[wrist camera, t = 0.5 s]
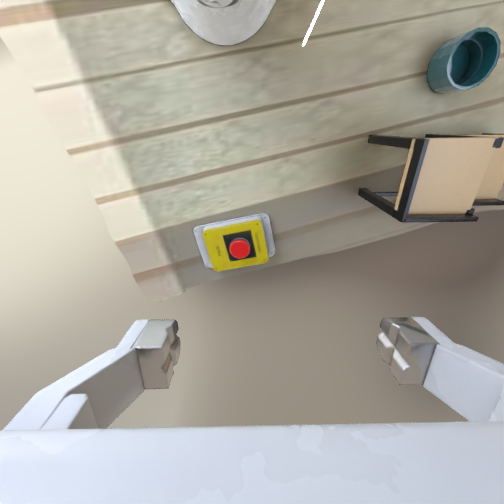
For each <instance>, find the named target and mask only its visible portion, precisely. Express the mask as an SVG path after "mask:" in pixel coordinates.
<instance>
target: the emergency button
mask: <svg viewBox="0 0 504 504" xmlns="http://www.w3.org/2000/svg"><path fill="white" fill-rule="evenodd" d="M194 235H195V238H196V241H197V244H198V247H199V250H200V253H201V256H202V259H203V262H204V265H205V266H206V267H208V268H211V267H213V269H214V270H215V271H223V270H229V269H234V268H240V267H245V266H251V265H256V264H262V263H266V262H267V261H268V259H269V257H271V256H273V255H274V254H275V246H274V241H273V235H272V230H271V224H270V219H269V215H268V214H266V213H260V214H255V215H250V216H245V217H240V218H235V219H230V220H225V221H220V222H215V223H210V224H205V225H200V226H197V227H195V228H194Z"/></svg>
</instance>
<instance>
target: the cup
mask: <svg viewBox="0 0 504 504" xmlns="http://www.w3.org/2000/svg"><path fill="white" fill-rule="evenodd" d="M500 43H501V42H500V39H499V37H498V35H497V33H496V32H495V31H493V30H492V29H490V28H476V29H474V30H472V31H470V32H467V33H465V34H463V35H460V36H458V37H456V38H453V39H451V40H449V41H447V42H445V43H444V44H443V45H442V46H441V47H440V48H439V49H438V50H437V51H436V52H435V54H434V56H433V57H432V59H431V61H430V64H429V68H428V72H427V75H428V83H429V84H430V86H431V88H432V89H433V90H434V91H436V92H438V93H451V92H457V91H463V90H468V89H471V88H473V87H475V86H478V85H479V84H480V83H482V82H483V81H484V80H485V79H486V78H487V77H488V76H489V75H490V73H491V72H492V71H493V69H494V68H495V66H496V64H497V61H498V58H499V55H500Z"/></svg>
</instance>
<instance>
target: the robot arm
mask: <svg viewBox="0 0 504 504" xmlns="http://www.w3.org/2000/svg"><path fill="white" fill-rule="evenodd" d="M171 1H172V3H173V4H174V5H175V7H176V9H177V10H178V12H179V14H180V15H181V17H182V18H183V20H184V21H185V23H186V24H187V25H188V26H189V27H190V28H191V29H192V30H193V31H194V32H195V33H196V34H197V35H198V36H200V37H201V38H203V39H204V40H206V41H208V42H211V43H214V44H218V45H234V44H238V43H240V42H243V41H245V40H247V39H248V38H250V37H251V36H252V35H254V34H255V33H256V32H257V31H258V30H259V29H260V27H261V26H262V25H263V24H264V22H265V21H266V19H267V17H268V15H269V13H270V11H271V9H272V7H273V5H274V4H275V2H276V1H277V0H171ZM324 1H325V0H321V3H320V5H319V7H318V10H317V12H316V14H315V17H314V19H313V21H312V23H311V26H310V28H309V30H308V33H307V35H306V37H305V39H304V42H303V44H302V46H303V47H304V46H305V44H306V41H307V39H308V37H309V35H310V32H311V30H312V28H313V25H314V23H315V21H316V19H317V16H318V14H319V12H320V10H321V7H322V5H323V3H324ZM380 328H381V329H382V332H381V333H380V334H379V335H378V337H377V342H376V343H377V350H378V353H379V355H380V357H381V358H382V360H383V361H384V362H386V363H388V364H389V365H390V368H389V370H390V372H391V373H392V374H393V376H394V378H395V379H396V381H397V382H398V383H399V385H423V387H425V388H426V389H427V390H429V391H430V392H431V393H433V394H434V395H435V396H437V397H438V398H439V399H441V400H442V401H443V402H445V403H446V404H447V405H449V406H450V407H451V408H453V409H454V410H455V411H457V412H458V413H459V414H461V415H462V416H463V417H465V418H466V419H467V420H469V421H470V422H433V423H431V422H430V423H373V424H319V425H318V424H317V425H265V426H214V427H213V426H212V427H159V428H108V429H107V427H108V426H109V425H110V424H111V423H112V422H113V421H114V420H115V419H116V418H117V417H118V416H119V415H120V414H121V413H122V412H123V411H124V410H125V409H126V408H127V407H128V406H129V405H130V404H131V403H132V402H133V401H134V400H135V399H136V398H137V397H138V396H139V395H140V394H141V393H143V391H144V389H165V388H169V385H170V382H171V379H172V376H173V374H174V371H173V366H174V365H175V364H177V362H178V359H179V354H180V339H179V337H178V336H177V335H176V334H177V331H178V323H177V321H176V320H136V321H135V322H134V323H133V324H132V326H131V327H130V329H129V330H128V332H127V333H126V334H125V336H124V337H123V339H122V340H121V342H120V343H119V344H118V346H117V347H116V349H110V350H109V351H107V352H105V353H104V354H102V355H100V356H98V357H97V358H95V359H93V360H92V361H90V362H88V363H86V364H85V365H83V366H81V367H80V368H78V369H76V370H75V371H73V372H71V373H69V374H68V375H66V376H64V377H63V378H61V379H59V380H58V381H56V382H54V383H53V384H51V385H50V386H47V387H46V388H44V389H42V390H41V391H39V392H37V393H36V394H35V395H34V396H33V397H32V398H31V399H30V401H29V402H28V403H27V404H26V405H25V406H24V407H23V408H22V409H21V410H20V412H19V413H18V414H17V415H16V416H15V417H14V418H13V419H12V420H11V421H10V423H9V424H8V425H7V426H6V427H5V428H4V429H3V430H0V504H504V364H502V363H500V362H498V361H496V360H494V359H491V358H489V357H487V356H485V355H482V354H480V353H478V352H476V351H474V350H471V349H469V348H467V347H464V346H462V345H460V344H455V343H453V342H452V341H451V340H450V339H449V338H448V337H447V336H445V335H444V334H443V333H442V332H441V331H440V330H439V329H438V328H436V327H435V326H434V325H433V324H432V323H431V322H430V321H428V320H427V319H426V318H424V317H406V318H383V319H382V321H381V324H380Z"/></svg>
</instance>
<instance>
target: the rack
mask: <svg viewBox="0 0 504 504" xmlns="http://www.w3.org/2000/svg"><path fill="white" fill-rule="evenodd" d="M368 143H373V144H380V145H387V146H394V147H401V148H408V149H410V150H409V154H408V158H407V162H406V165H405V169H404V173H403V177H402V181H401V185H400V188H399V192H371V191H369V190H368V189H366V188H360V189H359V193H358V195H359V196H361V197H362V198H364V199H365V200H367V201H369V202H370V203H372V204H373V205H375V206H376V207H378V208H380V209H381V210H383V211H384V212H386V213H388V214H389V215H391V216H392V217H394V218H395V219H397V220H398V221H400V222H466V221H477V220H478V217H476V216H474V215H473V213H474V210H475V209H473V208H471V207H472V206H477V205H504V201H502V200H498V199H496V198H497V196H498V194H499V192H500V189H501V187H502V185H503V183H504V134H492V133H483V134H482V135H440V134H426V136H425V138H414V137H399V136H385V135H369V139H368ZM381 196H397V200H396V204H394V203H392V202H390V201H388V200H386V199H384V198H382V197H381Z"/></svg>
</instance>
